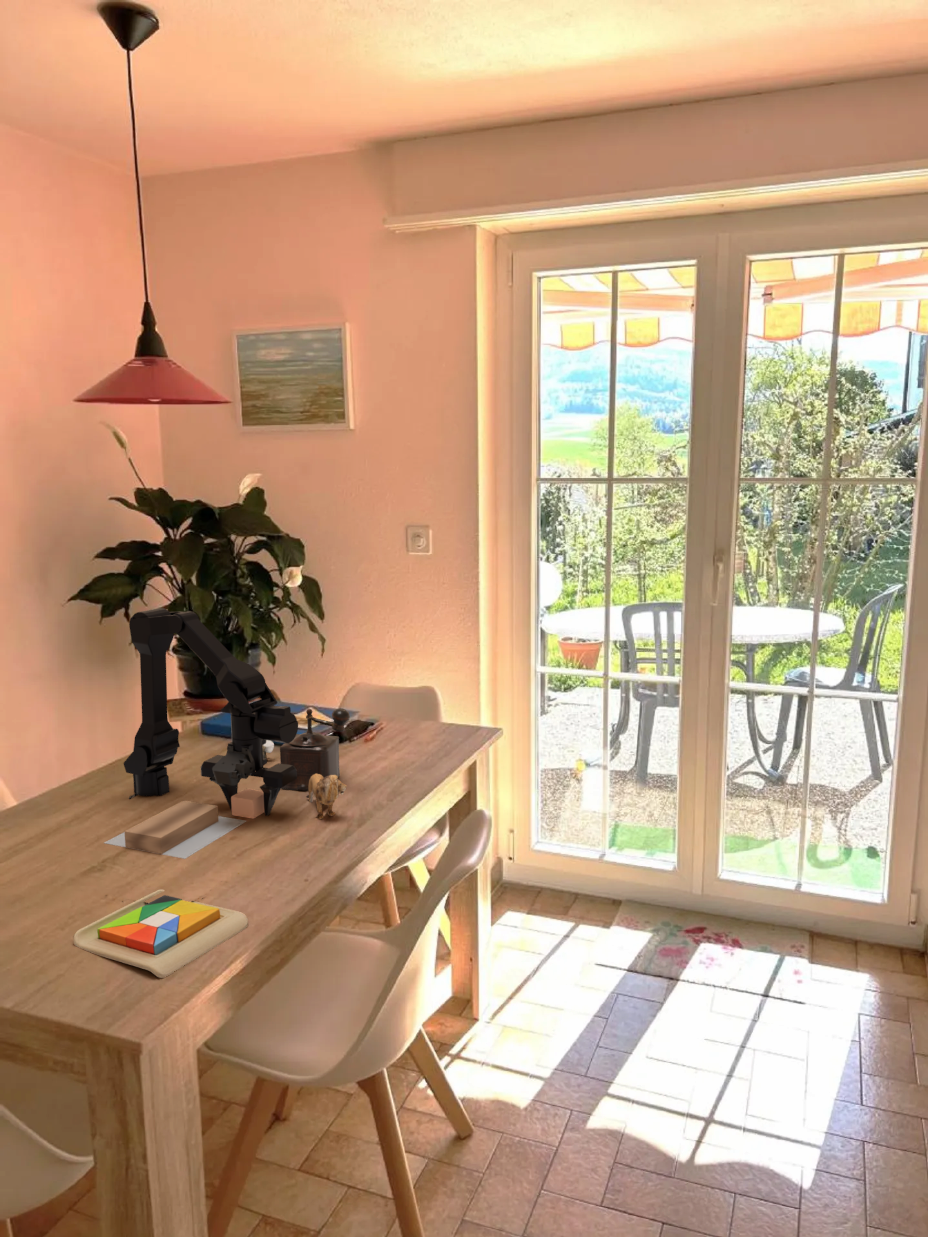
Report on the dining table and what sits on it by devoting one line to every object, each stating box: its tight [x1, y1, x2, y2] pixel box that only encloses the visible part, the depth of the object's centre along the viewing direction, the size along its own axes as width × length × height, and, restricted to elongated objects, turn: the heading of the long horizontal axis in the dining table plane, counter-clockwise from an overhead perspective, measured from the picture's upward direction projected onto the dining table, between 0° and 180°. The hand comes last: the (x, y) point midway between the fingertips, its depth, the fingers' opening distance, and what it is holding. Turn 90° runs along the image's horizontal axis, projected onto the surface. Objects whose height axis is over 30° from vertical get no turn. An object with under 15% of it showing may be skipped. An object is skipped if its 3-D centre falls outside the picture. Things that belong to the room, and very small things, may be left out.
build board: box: [103, 815, 247, 860], centre depth 166 cm, size 18×18×1 cm
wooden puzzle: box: [73, 889, 249, 979], centre depth 132 cm, size 18×19×4 cm
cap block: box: [231, 787, 265, 819], centre depth 175 cm, size 5×5×5 cm
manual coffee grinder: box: [279, 707, 351, 792], centre depth 193 cm, size 16×11×18 cm
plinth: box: [123, 800, 219, 855], centre depth 165 cm, size 8×16×3 cm, turn 158°
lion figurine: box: [305, 774, 348, 820], centre depth 178 cm, size 15×5×9 cm, turn 34°
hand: (250, 812), depth 175 cm, fingers open, 8 cm apart
